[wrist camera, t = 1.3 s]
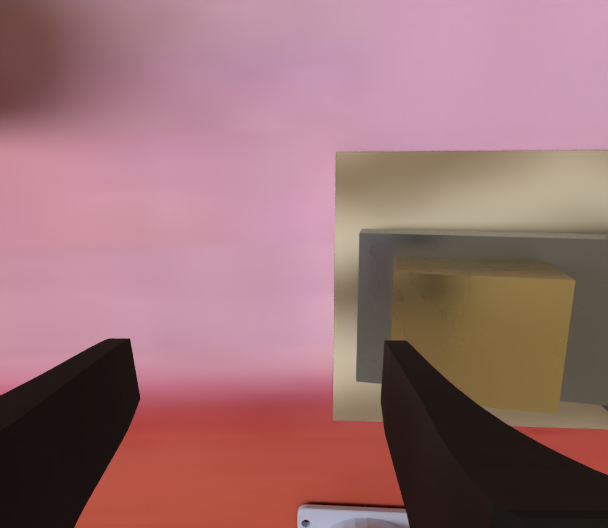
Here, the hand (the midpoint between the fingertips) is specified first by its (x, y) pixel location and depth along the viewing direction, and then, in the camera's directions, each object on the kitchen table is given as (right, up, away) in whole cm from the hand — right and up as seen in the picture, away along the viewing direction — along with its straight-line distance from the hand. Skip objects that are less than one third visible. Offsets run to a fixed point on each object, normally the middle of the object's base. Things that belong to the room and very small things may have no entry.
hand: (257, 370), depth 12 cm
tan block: (+8, +1, +6) cm, 10 cm away
